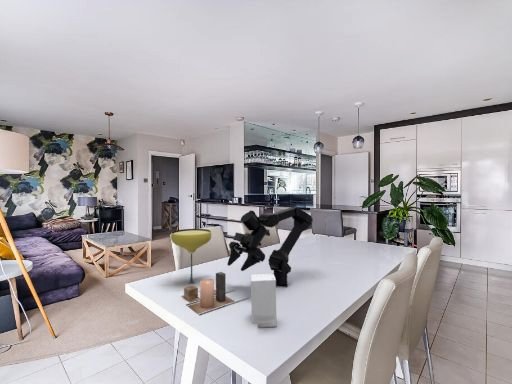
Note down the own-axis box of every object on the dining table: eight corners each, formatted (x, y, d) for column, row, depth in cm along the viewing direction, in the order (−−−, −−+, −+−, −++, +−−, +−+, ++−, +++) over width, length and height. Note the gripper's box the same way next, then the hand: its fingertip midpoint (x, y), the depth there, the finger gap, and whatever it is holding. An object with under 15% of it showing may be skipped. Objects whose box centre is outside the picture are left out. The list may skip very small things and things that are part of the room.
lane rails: (233, 293, 112) (233, 290, 112) (249, 301, 104) (249, 298, 104) (185, 308, 98) (185, 304, 98) (199, 319, 90) (199, 315, 90)
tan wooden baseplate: (223, 297, 107) (223, 268, 107) (235, 303, 101) (235, 273, 101) (187, 308, 97) (187, 277, 97) (197, 316, 91) (197, 283, 91)
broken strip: (211, 290, 115) (211, 287, 115) (221, 296, 109) (221, 293, 109) (180, 299, 106) (180, 296, 106) (189, 306, 100) (189, 302, 100)
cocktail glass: (170, 281, 127) (170, 229, 126) (207, 277, 133) (207, 227, 133) (172, 295, 110) (172, 236, 109) (215, 289, 116) (214, 233, 116)
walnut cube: (193, 294, 107) (193, 285, 107) (197, 297, 104) (197, 287, 104) (184, 297, 105) (184, 287, 105) (188, 300, 102) (188, 290, 102)
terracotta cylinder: (215, 302, 100) (215, 278, 100) (212, 308, 95) (212, 283, 95) (202, 301, 101) (202, 278, 100) (198, 307, 96) (198, 283, 95)
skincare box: (274, 317, 91) (274, 273, 91) (277, 328, 84) (277, 279, 84) (250, 318, 91) (250, 273, 91) (251, 328, 84) (251, 280, 84)
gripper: (232, 223, 116) (210, 251, 109) (259, 227, 102) (236, 261, 95) (246, 238, 121) (226, 266, 114) (274, 245, 107) (253, 278, 100)
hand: (234, 267), depth 106 cm, fingers open, 9 cm apart
